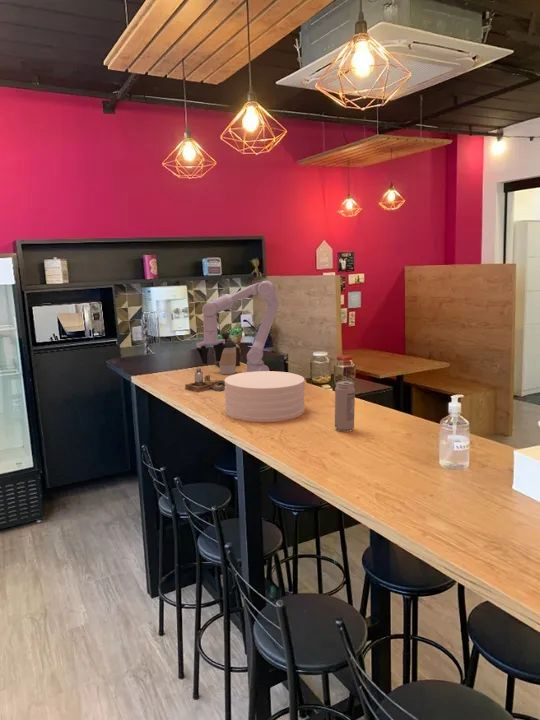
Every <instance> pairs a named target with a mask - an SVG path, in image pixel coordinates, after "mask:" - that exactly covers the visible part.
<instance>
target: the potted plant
mask: <svg viewBox="0 0 540 720" xmlns="http://www.w3.org/2000/svg"><path fill="white" fill-rule="evenodd" d="M221 339H225V340H228V341H232V339H231V338H230V333H229V332H227V331H224V332H222V333H221ZM213 353H214V362H213V363H214V365H215V366H217V367H219V368H220V365H219V361H216V358H215V350H214V349H213ZM240 363H241V347H239V346H236V367H240V366H241V364H240Z"/></svg>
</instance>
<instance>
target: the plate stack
mask: <svg viewBox="0 0 540 720" xmlns="http://www.w3.org/2000/svg"><path fill="white" fill-rule="evenodd" d="M224 381H225V385H226V386H225V385H224V386H225V390H224V392H225V394H224V398H225V401H224V406H225V408H224V411H225V414H226V415H227V416H228V415H229V416H228V417H230V416H231V418H233V419H236V418H237V420H240V419H241V421H246V420H247V421H248V422H260V423H261V422H262V423H263V422H264V423H265V422H268V423H269V422H281V421H287V420H291V419H295V418H297V417H300V416H302V415H303V414H304V413H305V378H304V376H302V375H300V374H297V373H293V372H286V371H277V370H276V371H275V370H274V371H273V370H272V371H271V370H269V371H256V372H247V371H245V372H239V373H234V374H230V375H229V376H227V377H226V378H224ZM301 414H302V415H301Z"/></svg>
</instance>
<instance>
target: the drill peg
mask: <svg viewBox="0 0 540 720" xmlns="http://www.w3.org/2000/svg"><path fill="white" fill-rule="evenodd" d="M195 369H196V371H194V383H195V386H203V382H204V372H203V371H202V369H201V367H199V368H195Z"/></svg>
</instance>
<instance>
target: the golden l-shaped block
mask: <svg viewBox="0 0 540 720" xmlns="http://www.w3.org/2000/svg"><path fill="white" fill-rule="evenodd" d="M218 381H219V380H214V379H211V375H209V374H208V375H203V382H206V383H210V384H213V386H219V385H218Z"/></svg>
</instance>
